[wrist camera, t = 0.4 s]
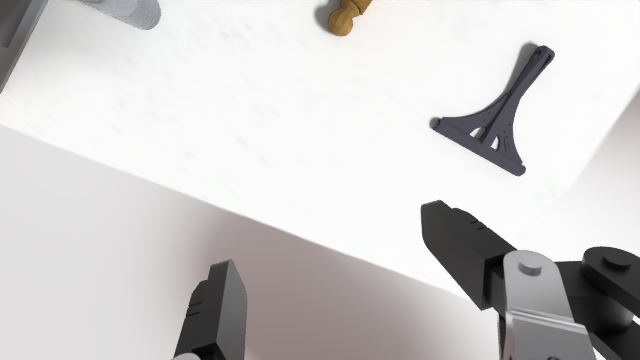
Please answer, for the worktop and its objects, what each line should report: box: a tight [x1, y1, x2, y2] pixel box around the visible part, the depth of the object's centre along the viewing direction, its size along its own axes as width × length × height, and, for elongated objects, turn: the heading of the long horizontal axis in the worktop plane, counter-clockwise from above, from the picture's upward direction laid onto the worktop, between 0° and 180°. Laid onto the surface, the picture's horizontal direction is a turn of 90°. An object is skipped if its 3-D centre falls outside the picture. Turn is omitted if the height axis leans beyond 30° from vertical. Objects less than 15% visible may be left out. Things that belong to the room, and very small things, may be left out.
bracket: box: [433, 46, 555, 176], centre depth 36 cm, size 14×15×3 cm
